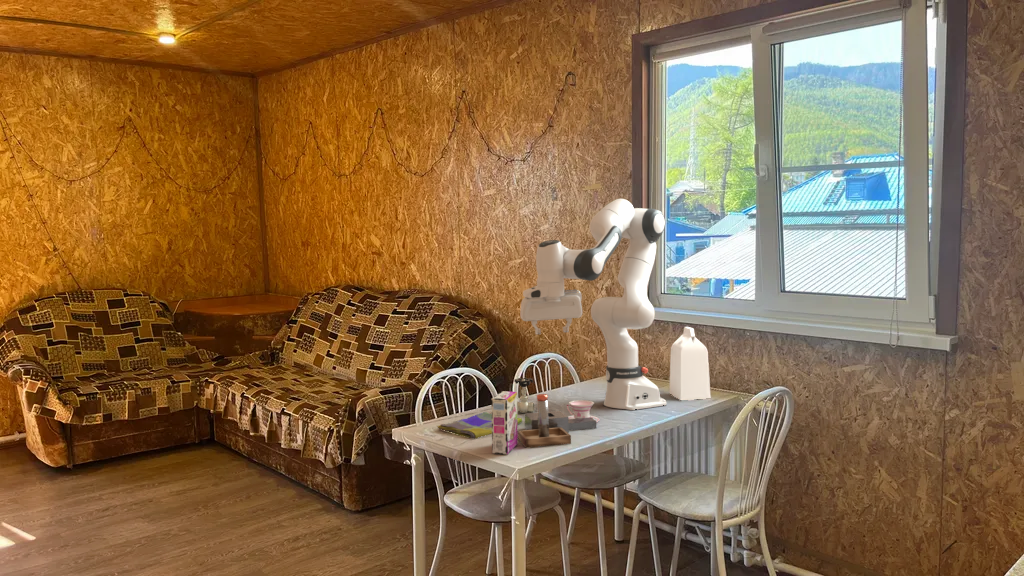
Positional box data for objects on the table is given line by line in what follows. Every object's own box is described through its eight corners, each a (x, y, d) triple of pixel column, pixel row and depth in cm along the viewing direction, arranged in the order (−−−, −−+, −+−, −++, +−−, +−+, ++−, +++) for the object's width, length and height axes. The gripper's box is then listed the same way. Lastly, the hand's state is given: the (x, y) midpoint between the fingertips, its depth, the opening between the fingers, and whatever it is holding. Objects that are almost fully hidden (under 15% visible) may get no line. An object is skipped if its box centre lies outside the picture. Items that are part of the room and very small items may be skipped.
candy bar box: (508, 455, 222) (506, 399, 221) (491, 454, 224) (490, 398, 222) (519, 444, 233) (517, 390, 232) (503, 443, 234) (501, 390, 233)
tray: (561, 435, 242) (561, 427, 242) (571, 443, 232) (570, 435, 232) (518, 439, 239) (517, 431, 239) (525, 447, 229) (525, 439, 229)
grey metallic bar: (547, 436, 237) (545, 393, 236) (550, 439, 234) (548, 395, 233) (537, 437, 237) (535, 394, 235) (540, 440, 234) (538, 396, 232)
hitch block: (589, 422, 256) (589, 408, 255) (598, 429, 247) (598, 414, 246) (524, 428, 251) (524, 413, 250) (532, 435, 242) (531, 420, 241)
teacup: (601, 417, 264) (600, 399, 263) (597, 426, 252) (597, 407, 251) (566, 416, 266) (566, 398, 266) (561, 425, 255) (560, 406, 254)
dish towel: (525, 425, 257) (524, 417, 257) (472, 441, 239) (471, 432, 239) (488, 417, 269) (487, 409, 269) (434, 432, 251) (434, 423, 251)
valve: (532, 415, 268) (531, 381, 267) (513, 415, 269) (512, 381, 268) (535, 411, 274) (534, 377, 273) (517, 410, 276) (516, 377, 275)
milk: (710, 399, 285) (710, 329, 283) (680, 400, 283) (680, 330, 281) (697, 392, 297) (697, 325, 295) (669, 394, 295) (668, 326, 293)
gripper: (578, 288, 255) (579, 329, 256) (518, 291, 250) (519, 334, 252) (584, 289, 249) (585, 332, 250) (522, 293, 244) (524, 336, 245)
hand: (552, 333), depth 251 cm, fingers open, 8 cm apart
